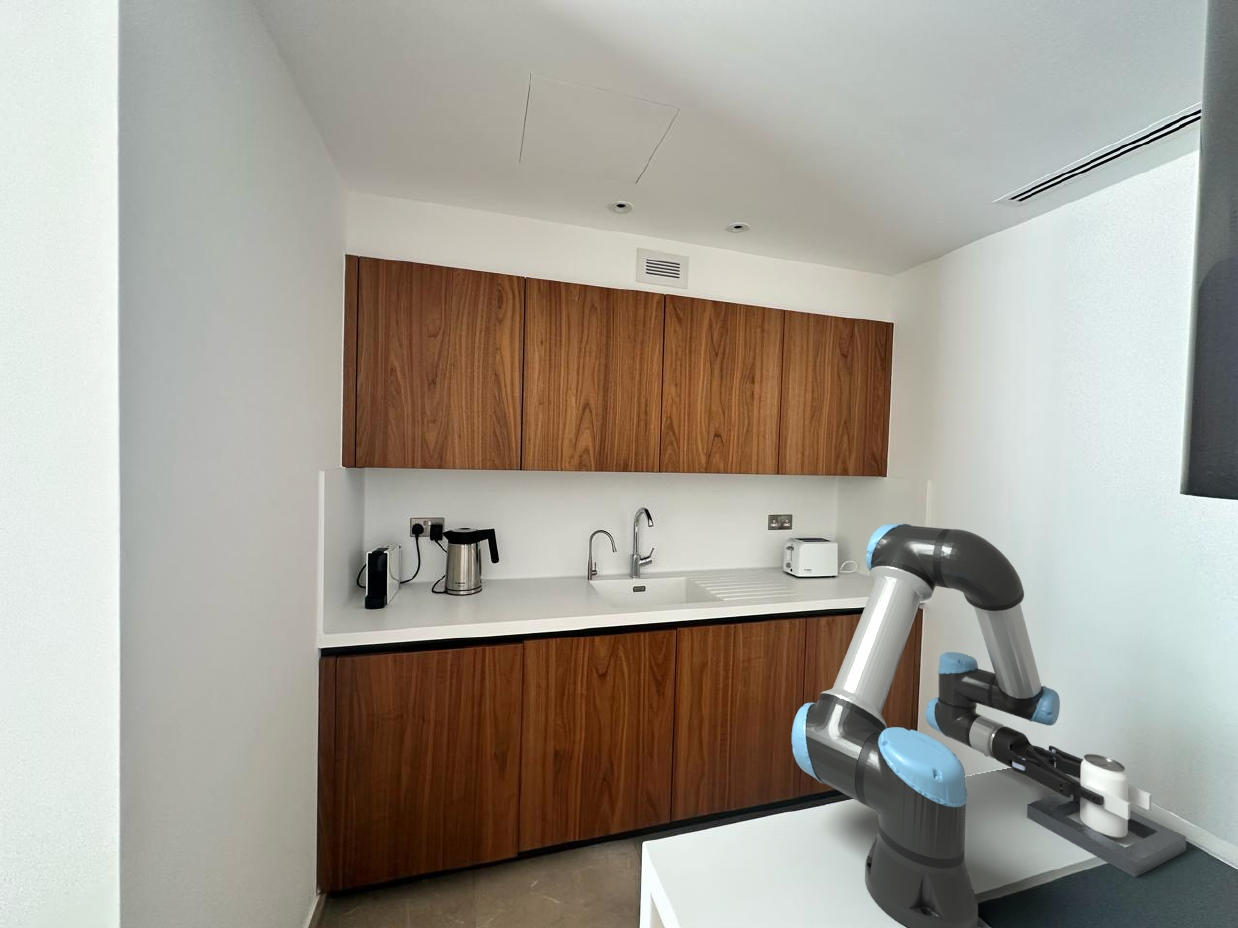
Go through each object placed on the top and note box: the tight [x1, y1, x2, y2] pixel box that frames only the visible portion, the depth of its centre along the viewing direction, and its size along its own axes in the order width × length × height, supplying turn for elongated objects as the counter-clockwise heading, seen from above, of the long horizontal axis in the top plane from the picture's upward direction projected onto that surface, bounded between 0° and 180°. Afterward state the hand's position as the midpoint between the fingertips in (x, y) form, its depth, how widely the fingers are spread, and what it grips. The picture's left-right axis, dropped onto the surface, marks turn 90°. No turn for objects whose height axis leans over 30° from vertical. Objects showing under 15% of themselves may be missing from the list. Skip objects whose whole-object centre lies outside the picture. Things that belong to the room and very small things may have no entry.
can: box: [1079, 753, 1129, 839], centre depth 97 cm, size 6×6×12 cm
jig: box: [1026, 792, 1187, 878], centre depth 97 cm, size 17×16×2 cm
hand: (1139, 806), depth 92 cm, fingers closed on can, 6 cm apart
